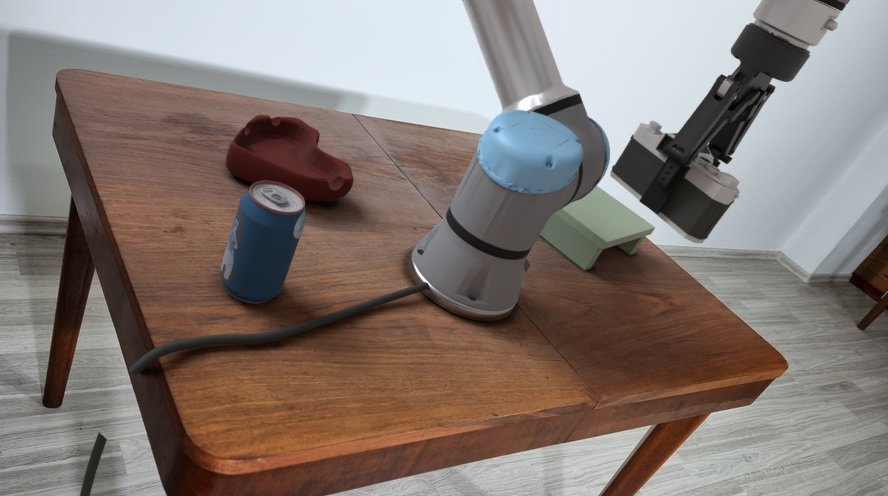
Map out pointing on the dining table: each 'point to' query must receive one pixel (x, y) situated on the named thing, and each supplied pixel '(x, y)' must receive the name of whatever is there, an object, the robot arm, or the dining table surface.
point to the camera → (695, 196)
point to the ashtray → (288, 159)
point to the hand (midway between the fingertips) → (665, 203)
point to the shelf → (595, 228)
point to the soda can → (262, 241)
